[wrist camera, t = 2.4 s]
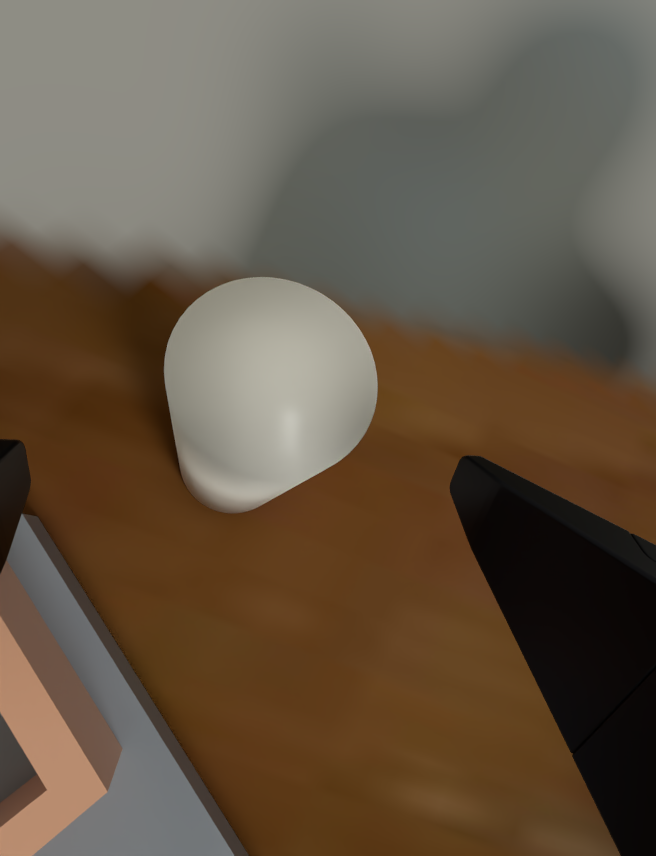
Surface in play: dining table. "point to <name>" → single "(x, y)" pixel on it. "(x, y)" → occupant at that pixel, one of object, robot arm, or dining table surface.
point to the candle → (264, 390)
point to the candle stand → (85, 730)
